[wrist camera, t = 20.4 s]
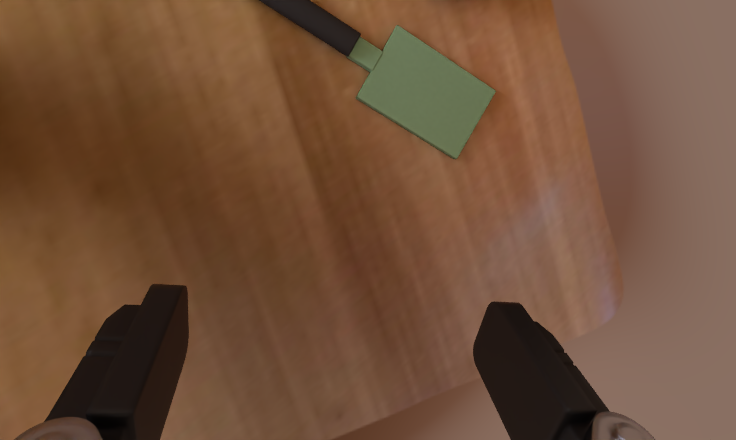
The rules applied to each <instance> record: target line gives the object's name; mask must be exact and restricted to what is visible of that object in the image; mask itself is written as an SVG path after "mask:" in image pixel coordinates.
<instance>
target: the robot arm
mask: <svg viewBox="0 0 736 440" xmlns="http://www.w3.org/2000/svg"><path fill="white" fill-rule="evenodd" d="M188 338H189V327H188V292H187V287H186V286H184V285H164V284H152V285H151V286H150V288H149V290H148V292H147V294H146V296H145V298H144V300H143V302H142V304H141V305H124V306H122V307H121V308H120V309H118V310H117V311H116V312H115V313H113V314H112V315H111V316H110V317H108V318H107V319H106V320H105V322H104V323H103V325H102V327H101V328H100V330H99V332H98V333H97V335H96V337H95V341H93V342H92V343H91V345H90V347H89V348H88V350H87V352H86V356H84V357H83V358H82V360H81V362H80V363H79V365H78V367H77V369H76V370H75V372H74V374H73V375H72V377H71V379H70V380H69V382H68V384H67V385H66V387H65V389H64V390H63V392H62V394H61V395H60V397H59V399H58V400H57V402H56V404H55V405H54V407H53V409H52V410H51V412H50V414H49V416H48V417H47V418H46V420H45V421H44V422H43V423H41V424H38V425H36V426H34V427H32V428H30V429H28V430H27V431H25V432H24V433H22V434H21V435H19V436H18V437H17V438H16V439H14V440H160V437H161V434H162V431H163V428H164V425H165V422H166V418H167V415H168V412H169V409H170V406H171V402H172V399H173V396H174V393H175V390H176V386H177V383H178V380H179V377H180V374H181V371H182V367H183V364H184V361H185V357H186V353H187V347H188ZM473 356H474V361H475V365H476V367H477V369H478V371H479V373H480V375H481V378H482V380H483V382H484V384H485V386H486V388H487V390H488V392H489V394H490V397H491V399H492V401H493V403H494V405H495V407H496V409H497V411H498V413H499V415H500V418H501V420H502V422H503V424H504V426H505V428H506V430H507V432H508V435H509V436H510V439H511V440H655V439H654V437H653V436H652V435H651V434H650V433H649V432H648V431H647V430H646V429H645V428H643V427H642V426H641V425H640V424H638V423H637V422H635V421H634V420H632V419H630V418H628V417H626V416H624V415H621V414H618V413H614V412H610V411H609V410H608V408H607V407H606V406H605V404H604V403H603V402H602V400H601V399H600V398H599V396H598V395H597V394H596V392H595V391H594V390H593V388H592V387H591V386H590V384H589V383H588V382H587V380H586V379H585V377H584V376H583V375H582V373H581V372H580V371H579V370H578V368H577V367H576V366H574V365H573V361H572V360H571V359H570V357H569V356H568V355H567V353H564V349H563V348H562V346H561V345H560V344H559V342H558V341H557V340H556V338H555V337H554V336H553V335H552V334H551V333H550V332H549V331H547V330H546V329H545V328H544V327H543V326H541V325H540V324H539V323H538V322H534V321H533V320H532V318H531V317H530V316H529V314H528V313H527V311H526V310H525V309H524V307H523V306H522V305H521V304H520V303H513V302H491V303H490V304H489V305H488V307H487V310H486V312H485V315H484V318H483V320H482V323H481V326H480V328H479V331H478V334H477V336H476V339H475V342H474V347H473Z"/></svg>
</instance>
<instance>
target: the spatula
mask: <svg viewBox="0 0 736 440" xmlns="http://www.w3.org/2000/svg"><path fill="white" fill-rule="evenodd" d="M260 1H261V2H263V3H264V4H266V5H267V6H269V7H271V8H272V9H274V10H275V11H277V12H278V13H280V14H282V15H283V16H285V17H286V18H288V19H289V20H291V21H293V22H294V23H296V24H297V25H299V26H300V27H302V28H304V29H305V30H307V31H308V32H310V33H311V34H313V35H315V36H316V37H318V38H319V39H321V40H322V41H324V42H325V43H327V44H329V45H330V46H332V47H333V48H335V49H336V50H338V51H340V52H341V53H343V54H344V55H346V57H347V58H349V59H350V60H352V61H353V62H355V63H356V64H358V65H360V66H361V67H363V68H364V69H366V70H367V71H369V72H370V74H369V75H368V77H367V79H366V81H365V82H364V84H363V86H362V88H361V90H360V91H359V93H358V95H357V97H356V99H357V100H359V101H361V102H362V103H364V104H366V105H367V106H369V107H370V108H372V109H374V110H375V111H377V112H378V113H380V114H382V115H383V116H385V117H387V118H388V119H390V120H391V121H393V122H395V123H396V124H398V125H399V126H401V127H403V128H404V129H406V130H408V131H409V132H411V133H412V134H414V135H416V136H417V137H419V138H420V139H422V140H424V141H425V142H427V143H429V144H430V145H432V146H433V147H435V148H437V149H438V150H440V151H442V152H443V153H445V154H446V155H448V156H450V157H451V158H453V159H457V158H458V156H459V154H460V153H461V151H462V149H463V147H464V146H465V144H466V142H467V140H468V139H469V137H470V135H471V134H472V132H473V130H474V128H475V127H476V125H477V123H478V121H479V120H480V118H481V116H482V114H483V113H484V111H485V109H486V108H487V106H488V104H489V102H490V101H491V99H492V97H493V95H494V94H495V92H496V91H495V90H494V89H492V88H491V87H489V86H488V85H486V84H485V83H483V82H482V81H480V80H479V79H477V78H476V77H474V76H473V75H471V74H470V73H468V72H467V71H465V70H464V69H462V68H461V67H459V66H458V65H456V64H455V63H453V62H452V61H451V60H449V59H448V58H446V57H445V56H443V55H442V54H440V53H439V52H437V51H436V50H434V49H433V48H431V47H430V46H428V45H427V44H425V43H424V42H422V41H421V40H419V39H418V38H416V37H415V36H413V35H412V34H410V33H409V32H407V31H406V30H404V29H403V28H401V27H400V26H398V25H397V26H396V27H395V29H394V31H393V33H392V34H391V36H390V38H389V40H388V42H387V43H386V45H385V47H384V49H383V50H382V51H381V50H380V49H378V48H377V47H375V46H374V45H372V44H371V43H369V42H367V41H366V40H364V39H363V38H361V37H360V35H361V34H360V33H359V32H357V31H356V30H354V29H353V28H351V27H350V26H348V25H347V24H345V23H344V22H342V21H341V20H339V19H338V18H336V17H334V16H333V15H331V14H330V13H328V12H327V11H325V10H324V9H322V8H321V7H319V6H318V5H316V4H315V3H313V2H311V1H310V0H260Z"/></svg>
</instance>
